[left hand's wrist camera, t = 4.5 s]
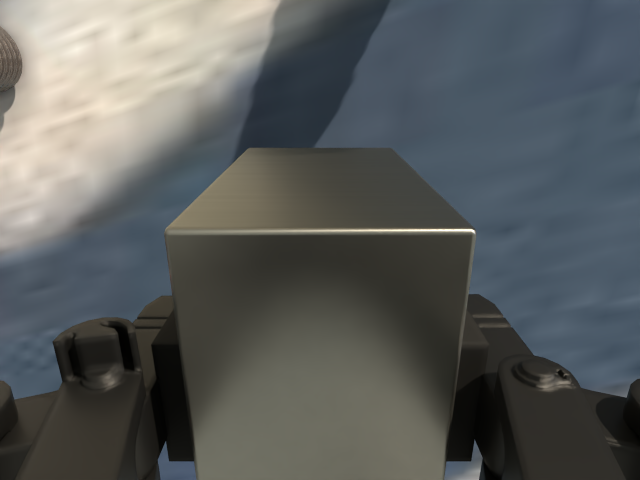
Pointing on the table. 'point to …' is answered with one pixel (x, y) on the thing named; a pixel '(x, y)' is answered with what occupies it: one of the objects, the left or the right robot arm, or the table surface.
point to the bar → (320, 317)
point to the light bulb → (9, 61)
